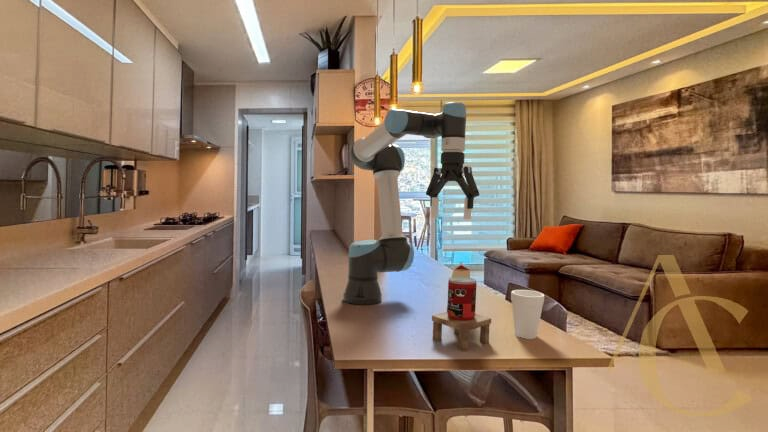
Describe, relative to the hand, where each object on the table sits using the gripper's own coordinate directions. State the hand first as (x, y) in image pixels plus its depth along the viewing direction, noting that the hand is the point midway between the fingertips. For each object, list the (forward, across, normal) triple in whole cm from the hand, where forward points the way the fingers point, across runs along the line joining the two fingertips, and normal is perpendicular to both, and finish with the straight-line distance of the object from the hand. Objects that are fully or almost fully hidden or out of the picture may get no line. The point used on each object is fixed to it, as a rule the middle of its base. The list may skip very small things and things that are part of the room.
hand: (450, 218), depth 134 cm
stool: (+35, +13, -9) cm, 38 cm away
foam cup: (+35, +22, +11) cm, 43 cm away
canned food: (+28, +13, -9) cm, 32 cm away
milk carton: (+35, -2, +9) cm, 36 cm away
